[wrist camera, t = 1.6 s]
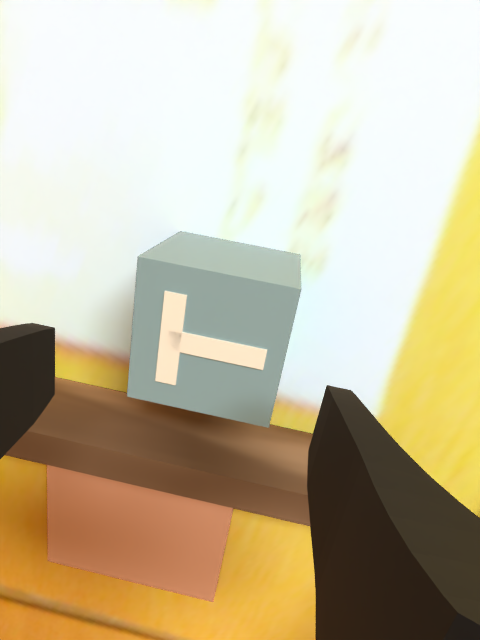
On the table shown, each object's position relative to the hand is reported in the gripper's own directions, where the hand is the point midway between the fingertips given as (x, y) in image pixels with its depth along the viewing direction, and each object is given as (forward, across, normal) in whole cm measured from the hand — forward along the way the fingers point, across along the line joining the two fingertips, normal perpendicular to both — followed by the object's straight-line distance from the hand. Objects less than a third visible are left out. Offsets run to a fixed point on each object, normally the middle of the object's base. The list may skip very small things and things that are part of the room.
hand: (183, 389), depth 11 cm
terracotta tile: (+8, +3, +13) cm, 15 cm away
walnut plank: (+8, +1, +6) cm, 10 cm away
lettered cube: (+8, 0, 0) cm, 8 cm away
